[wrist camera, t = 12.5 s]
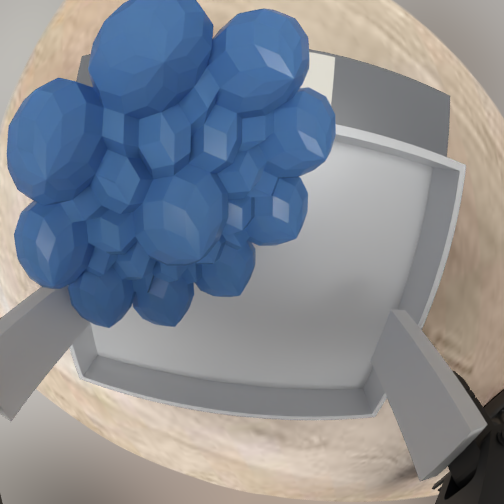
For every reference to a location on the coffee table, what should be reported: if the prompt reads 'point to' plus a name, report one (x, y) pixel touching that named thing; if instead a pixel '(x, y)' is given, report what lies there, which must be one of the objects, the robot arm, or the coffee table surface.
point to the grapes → (167, 160)
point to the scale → (311, 270)
